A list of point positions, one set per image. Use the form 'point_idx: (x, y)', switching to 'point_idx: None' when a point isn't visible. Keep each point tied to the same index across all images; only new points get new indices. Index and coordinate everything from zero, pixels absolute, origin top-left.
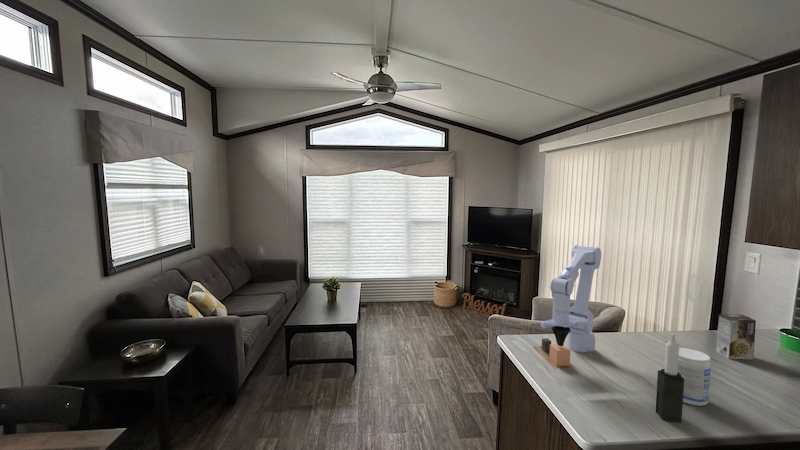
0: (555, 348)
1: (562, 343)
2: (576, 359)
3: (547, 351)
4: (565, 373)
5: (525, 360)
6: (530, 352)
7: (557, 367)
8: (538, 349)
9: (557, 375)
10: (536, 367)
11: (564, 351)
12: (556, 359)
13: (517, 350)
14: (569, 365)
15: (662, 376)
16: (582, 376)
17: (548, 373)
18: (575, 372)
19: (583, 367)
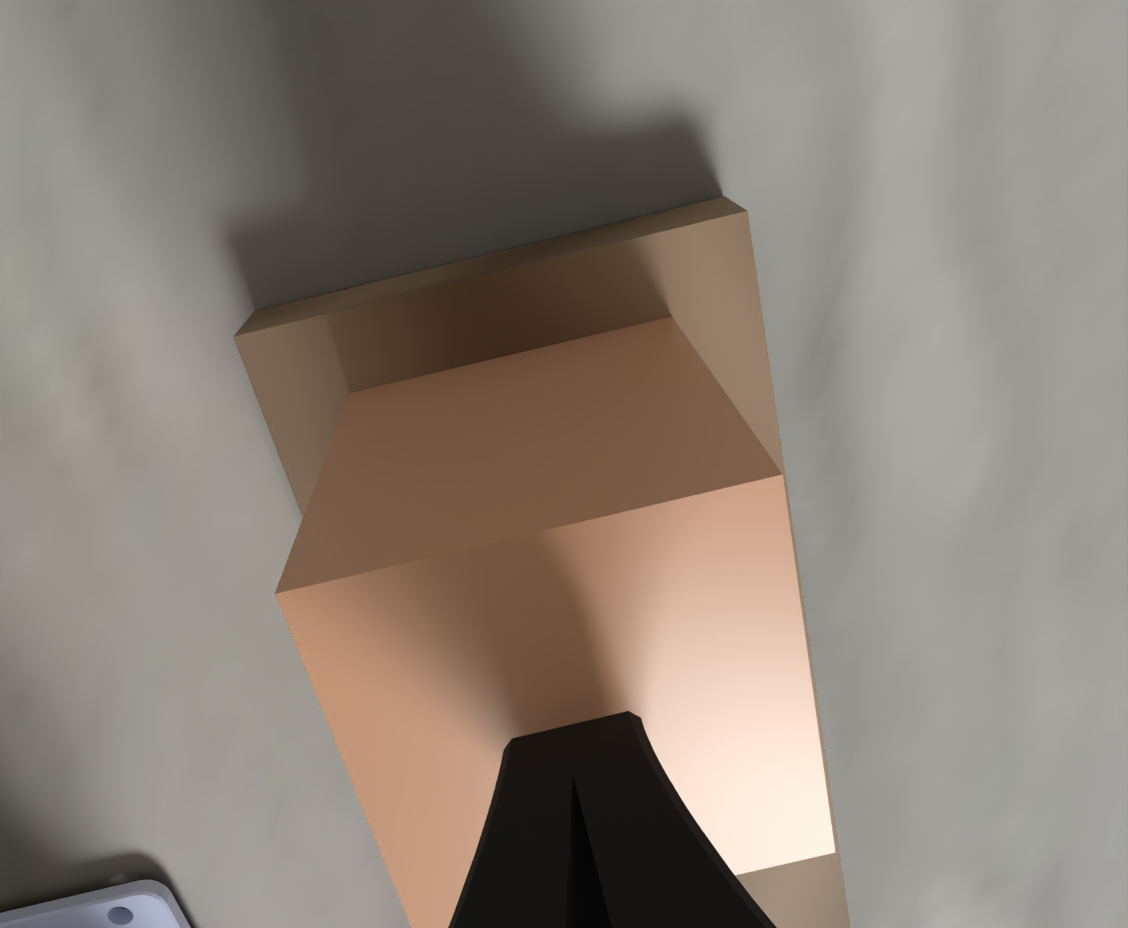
0: (767, 628)
1: (548, 788)
2: (135, 776)
3: None
4: (499, 171)
5: (1114, 583)
6: (898, 865)
7: (667, 256)
8: (789, 925)
9: (709, 45)
10: (1024, 344)
11: (497, 518)
12: (709, 372)
13: (1091, 888)
14: (358, 394)
15: None
16: (142, 82)
17: (877, 113)
18: (265, 253)
19: (50, 498)
